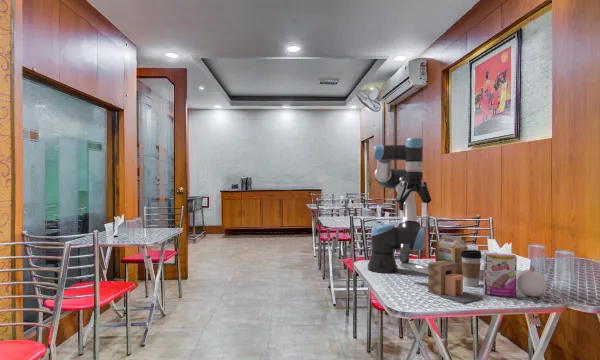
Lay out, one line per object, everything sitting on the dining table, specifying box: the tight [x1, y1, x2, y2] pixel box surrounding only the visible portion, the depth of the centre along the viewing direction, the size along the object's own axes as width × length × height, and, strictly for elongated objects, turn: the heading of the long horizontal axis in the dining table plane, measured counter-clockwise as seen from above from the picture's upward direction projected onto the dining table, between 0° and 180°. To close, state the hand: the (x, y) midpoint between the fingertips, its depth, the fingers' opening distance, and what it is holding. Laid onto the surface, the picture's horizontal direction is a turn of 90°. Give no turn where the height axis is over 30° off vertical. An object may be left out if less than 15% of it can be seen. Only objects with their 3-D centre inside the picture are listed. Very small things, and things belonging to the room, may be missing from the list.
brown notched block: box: [427, 260, 457, 297], centre depth 149 cm, size 6×10×12 cm, turn 122°
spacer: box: [445, 273, 464, 297], centre depth 144 cm, size 4×6×8 cm
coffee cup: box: [461, 249, 483, 288], centre depth 161 cm, size 8×8×15 cm
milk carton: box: [434, 234, 468, 275], centre depth 181 cm, size 11×11×19 cm
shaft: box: [399, 243, 428, 275], centre depth 159 cm, size 21×4×11 cm, turn 32°
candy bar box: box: [483, 251, 518, 299], centre depth 146 cm, size 11×5×16 cm, turn 71°
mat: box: [439, 291, 483, 305], centre depth 142 cm, size 10×12×1 cm
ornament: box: [516, 265, 548, 298], centre depth 145 cm, size 10×10×12 cm
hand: (413, 217), depth 169 cm, fingers open, 13 cm apart
